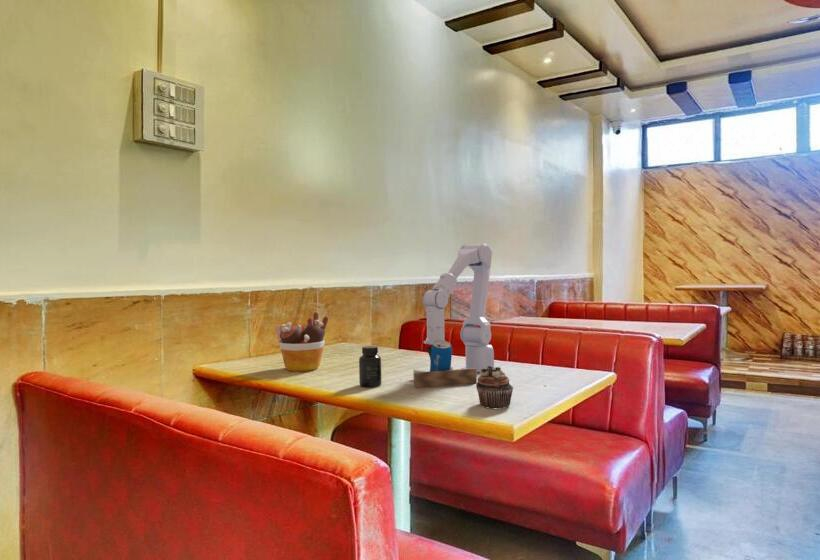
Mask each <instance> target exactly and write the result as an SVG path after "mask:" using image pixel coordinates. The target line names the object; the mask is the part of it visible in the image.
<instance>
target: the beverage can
mask: <svg viewBox="0 0 820 560" xmlns="http://www.w3.org/2000/svg"><path fill="white" fill-rule="evenodd" d="M444 342H445V343H446V344H447V346H445V347H438V346H437V345H438V344H437V343H440V344H441V343H443V344H445V343H444ZM452 355H453V347H452V344H451V342H449V341H446V340H445V341H442V340H439V341H435V342H434V343H433V345H432V347H431V360H430V364H429V365H430V366H429V371H442V370H451V367H452V357H453V356H452Z"/></svg>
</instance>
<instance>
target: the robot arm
mask: <svg viewBox="0 0 820 560" xmlns="http://www.w3.org/2000/svg"><path fill="white" fill-rule="evenodd" d="M492 257H493V251H492V249H491V248H490V246H489V245H488V243H477V244H462V245H461V247H460V248H459V250H458V251H457V257H456V259H455V261H454V262H453V264H452V265H451V267H450V269H449V270H448V271H447V272H445V273H442V274H441V275H440V276H439V277H440V278H438V280H437V281H436V283H435V284H433V286H432V288H431V289H429V290H427V291H426V292H425V293H424V294H423V297H422V304H423V306H424V308H425V309H424V311H425V313H426V338H425V340H423V344H425V345H430V346H426V348H425V349H426V351H427V354H428V355H429V359H430V361H431V347H432V345H433V343H434V342H435V341H439V340H442V341H446V340H445V337H446V336H445V335H446V333H445V308H446V306H448V304H449V300H450V299H449V298H450V295H451V293H452V292H453V291H454V290H455V287H456V286H457V284H458V277H460V275H462V273H463V272H464V270H465V269H466V268H467V267H468V268H470V269H472V271H473V280H472V288H471V289H472V292H471V298H470V299H471V300H470V306H469V308H470V309H469V316H468V317H466V319H464V320H463V323H462V327H461V330H460V333H459V335H460V340H461V341H462V342H463V345H465V366H463V367H461V369H469V368H476V373H480V371H481V370H482V369H487V368H488V366H491V367H493V368H495V351H494V348H493V346H492V344H489V343H490V342H491V339H492V331H491V327H492V326H491V325H492V324H491V323H490V322H489V321H488V320H487V319H486V310H487V302H488V292H489V283H490V274H491V273H490V272H491V265H492ZM444 343H445V342H444ZM437 344H438V345H437V346H438V347H445V346H447V344H446V343H445V344H443V343H441V344H440V343H437Z"/></svg>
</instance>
